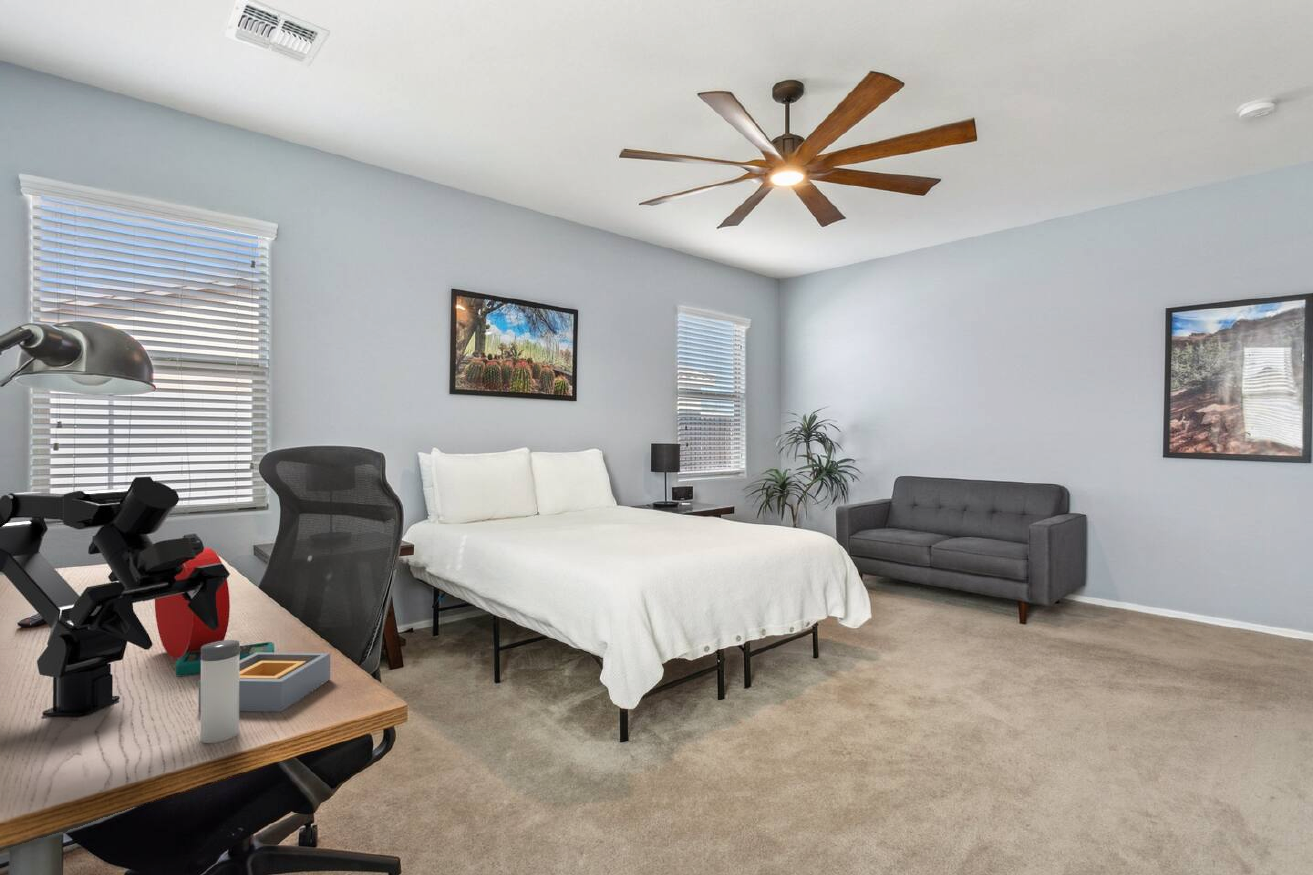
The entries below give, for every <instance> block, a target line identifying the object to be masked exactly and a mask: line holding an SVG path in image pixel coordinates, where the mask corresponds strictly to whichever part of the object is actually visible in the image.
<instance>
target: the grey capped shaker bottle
mask: <svg viewBox="0 0 1313 875" xmlns="http://www.w3.org/2000/svg"><path fill="white" fill-rule="evenodd" d="M239 646H240V641H239V640H237V639H227V640H226V639H224V641H217V642H212V643H209V644H206V645H203V646H202V647H201V673H200V679H201V710H200V742H201V743H204V744H215V743H220V742H224V741H228V740H230V739H233V738H235V737H237V736H238V735H239V733H240V711H239Z"/></svg>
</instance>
